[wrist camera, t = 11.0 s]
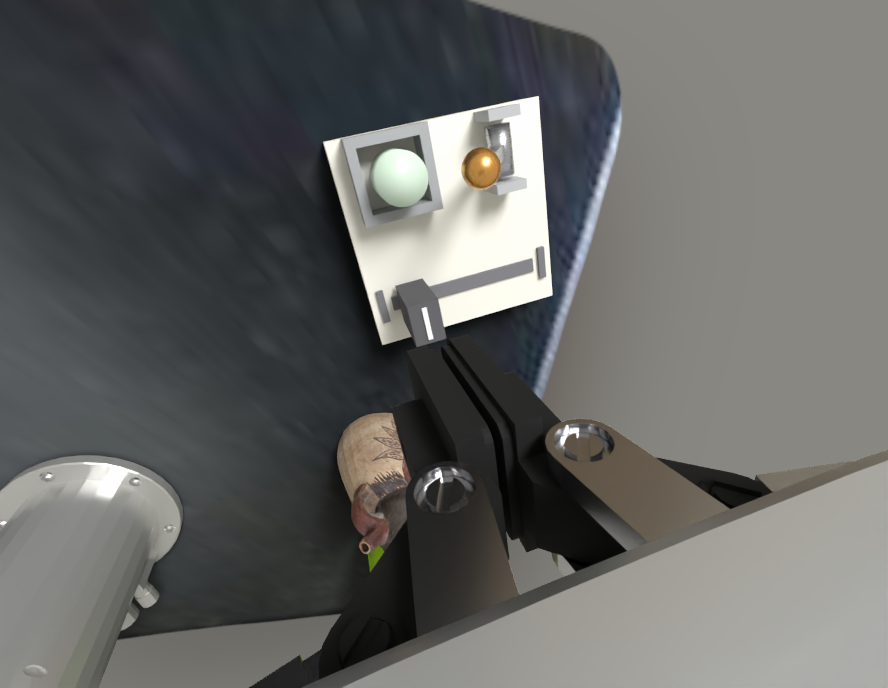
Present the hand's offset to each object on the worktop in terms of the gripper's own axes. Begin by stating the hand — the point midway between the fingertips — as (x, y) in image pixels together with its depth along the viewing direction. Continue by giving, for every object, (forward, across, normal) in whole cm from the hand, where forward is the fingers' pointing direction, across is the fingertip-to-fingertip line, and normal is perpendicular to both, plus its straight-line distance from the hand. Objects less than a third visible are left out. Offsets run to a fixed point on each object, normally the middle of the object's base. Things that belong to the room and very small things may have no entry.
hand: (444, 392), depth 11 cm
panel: (+23, -7, 0) cm, 24 cm away
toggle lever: (+18, -10, -4) cm, 21 cm away
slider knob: (+20, -3, +5) cm, 20 cm away
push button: (+18, -3, -4) cm, 19 cm away
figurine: (+24, +2, +19) cm, 30 cm away
